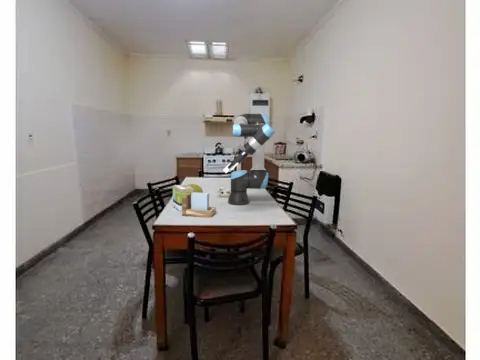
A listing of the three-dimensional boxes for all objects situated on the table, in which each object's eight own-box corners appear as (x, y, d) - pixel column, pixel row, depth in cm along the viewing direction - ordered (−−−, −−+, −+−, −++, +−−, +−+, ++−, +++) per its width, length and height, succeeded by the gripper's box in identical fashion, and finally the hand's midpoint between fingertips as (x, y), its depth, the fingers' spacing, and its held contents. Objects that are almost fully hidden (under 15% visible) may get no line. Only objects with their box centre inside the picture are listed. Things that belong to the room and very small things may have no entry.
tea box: (172, 206, 226) (172, 185, 223) (186, 205, 230) (186, 184, 228) (179, 211, 213) (179, 188, 210) (194, 210, 217) (194, 187, 215)
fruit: (195, 206, 227) (184, 187, 224) (183, 210, 237) (172, 192, 235) (210, 196, 238) (200, 177, 236) (198, 200, 248) (188, 182, 246)
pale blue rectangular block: (193, 211, 210) (193, 192, 208) (209, 212, 208) (209, 193, 206) (191, 212, 205) (191, 193, 203) (207, 213, 203) (207, 194, 202)
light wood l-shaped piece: (188, 211, 214) (188, 192, 212) (215, 212, 211) (216, 194, 209) (182, 215, 203) (181, 196, 201) (210, 217, 199) (210, 197, 197)
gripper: (253, 151, 185) (226, 177, 190) (259, 149, 210) (235, 172, 215) (244, 142, 186) (217, 167, 190) (251, 140, 210) (227, 163, 215)
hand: (227, 170), depth 203 cm, fingers open, 13 cm apart
